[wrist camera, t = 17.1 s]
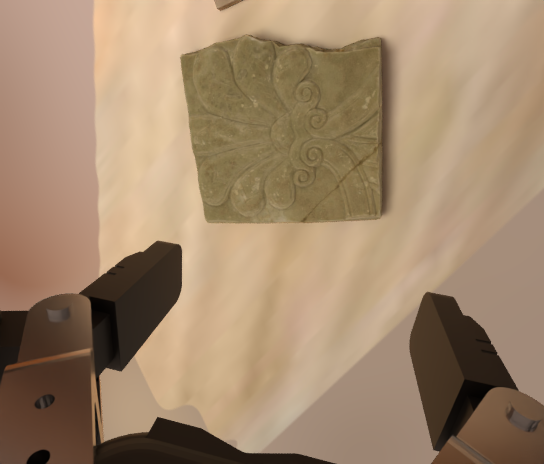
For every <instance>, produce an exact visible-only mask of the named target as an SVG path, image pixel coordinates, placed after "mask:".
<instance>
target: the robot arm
mask: <svg viewBox="0 0 544 464" xmlns="http://www.w3.org/2000/svg"><path fill="white" fill-rule="evenodd" d="M181 287H182V249H181V246H180V245H179V244H173V243H168V242H163V241H156V242H155V243H154V244H152V245H151V246H150V247H149V248H148V249H146V250H145V251H144V252H138V253H135V254H133V255H130V256H128V257H125V258H124V259H123V260H121V261H120V262H119V263H118V264H116V265H115V267H112V268H111V269H110V270H108V271H107V273H105V274H103V275H102V276H101V277H99V278H98V279H97V280H96V281H94V282H93V283H92V284H90V285H89V286H88V287H86V288H85V289H84V290H83V291H81V292H80V293H79V294H59V295H55V296H51V297H49V298H46V299H43V300H41V301H39V302H38V303H36V304H35V305H34V306H33V307H31V309H30V310H29V311H0V464H335V463H331V462H327V461H323V460H319V459H315V458H312V457H308V456H304V455H300V454H269V453H268V454H266V453H265V454H264V453H244V452H242V451H240V450H238V449H236V448H234V447H233V446H231V445H229V444H227V443H226V442H224V441H222V440H220V439H219V438H217V437H215V436H214V435H212V434H210V433H208V432H207V431H205V430H203V429H201V428H197V427H194V426H190V425H186V424H182V423H178V422H175V421H171V420H167V419H163V418H159V417H157V419H156V421H155V422H154V424H153V426H152V428H151V430H150V431H149V432H142V433H134V434H128V435H124V436H120V437H117V438H114V439H111V440H108V441H105V442H104V435H103V418H102V401H101V400H102V399H101V382H100V374H101V373H102V371H103V370H104V369H105V368H109V369H113V370H117V371H122V370H123V369H124V368H125V366H126V365H127V364H128V362H129V361H130V360H131V359H132V358H133V356H134V355H135V354H136V352H137V351H138V350H139V349H140V347H141V346H142V345H143V344H144V342H145V341H146V340H147V339H148V337H149V336H150V335H151V333H152V332H153V331H154V330H155V328H156V327H157V326H158V325H159V323H160V322H161V321H162V320H163V318H164V317H165V316H166V314H167V313H168V312H169V311H170V309H171V308H172V307H173V306H174V304H175V303H176V302H177V300H178V298H179V295H180V292H181ZM410 355H411V359H412V363H413V367H414V371H415V375H416V379H417V384H418V388H419V392H420V396H421V400H422V404H423V409H424V413H425V417H426V421H427V425H428V429H429V433H430V438H431V442H432V446H433V450H436V451H440V452H439V454H438V455H437V456H436V458H435V459H434V460H433V462H432V463H431V464H544V406H543V405H542V404H541V403H539V402H538V401H537V400H535V399H533V398H532V397H530V396H528V395H526V394H524V393H522V392H520V391H519V390H518V388H517V387H516V385H515V383H514V381H513V380H512V378H511V376H510V374H509V373H508V371H507V369H506V367H505V366H504V364H503V362H502V360H501V359H500V357H499V356H498V355H497V352H496V350H495V348H494V346H493V345H492V344H491V341H490V339H489V338H488V336H487V334H486V332H485V330H484V329H483V328H482V327H481V326H480V325H479V324H478V323H476V322H475V321H474V320H473V319H472V318H471V317H469V316H465V315H463V314H462V312H461V310H460V308H459V306H458V304H457V302H456V300H455V299H454V297H451V296H446V295H440V294H435V293H430V292H426V293H425V295H424V296H423V299H422V302H421V305H420V308H419V311H418V314H417V317H416V320H415V323H414V326H413V329H412V332H411V336H410Z"/></svg>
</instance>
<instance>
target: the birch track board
mask: <svg viewBox="0 0 544 464" xmlns="http://www.w3.org/2000/svg"><path fill="white" fill-rule="evenodd" d="M214 1H215V4H216V7H217V9H218V10H220V11H221V10H223V9H226V8H228V7H230V6H232V5H234V4H236V3H238V2H240V1H243V0H214Z"/></svg>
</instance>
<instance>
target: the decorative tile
mask: <svg viewBox="0 0 544 464" xmlns="http://www.w3.org/2000/svg"><path fill="white" fill-rule="evenodd" d="M381 57H382V47H381V38H379V37H377V38H372V39H368V40H360V41H358V42H356V43H353V44H350V45H348V46H345V47H343V48H342V49H333V50H331V49H321V48H319V47H311V46H306V45H304V44H293V45H288V46H285V45H283V44H281V43H279V42H277V41H271V40H261V39H259V38H255V37H253V36H250V35H244V36H243V37H241V38H238V39H233V40H230V41H225V42H219V43H214V44H212V45H211V46H209V47H207V48H204V49H202V50H200V51H197V52H192V53H187V54H184V55H181V57H180V59H181V68H182V75H183V82H184V89H185V96H186V101H187V106H188V113H189V128H190V134H191V143H192V149H193V153H194V156H195V160H196V165H197V171H198V182H199V188H200V193H201V197H202V201H203V206H204V214H205V219H206V221H207V222H208V223H300V222H303V223H313V222H337V221H359V220H377V219H380V218H381V216H382V60H381Z"/></svg>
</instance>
